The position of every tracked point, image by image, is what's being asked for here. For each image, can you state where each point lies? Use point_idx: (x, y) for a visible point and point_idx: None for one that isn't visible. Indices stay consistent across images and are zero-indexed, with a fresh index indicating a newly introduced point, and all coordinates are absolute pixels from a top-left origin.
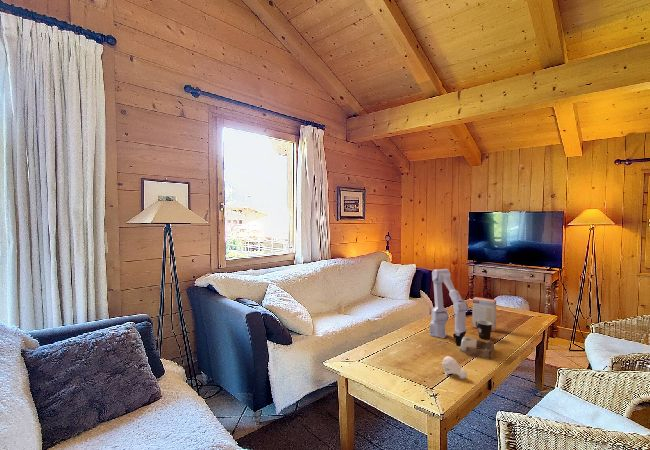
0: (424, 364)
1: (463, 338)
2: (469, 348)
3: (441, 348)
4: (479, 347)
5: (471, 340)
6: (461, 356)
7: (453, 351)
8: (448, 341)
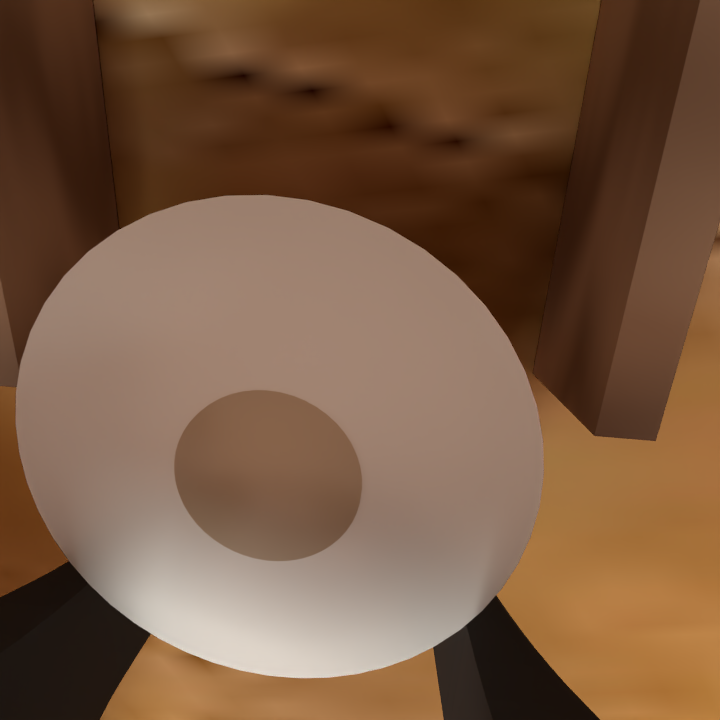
0: None
1: (263, 601)
2: (669, 362)
3: None
4: (106, 174)
5: (301, 377)
6: (710, 444)
7: (526, 567)
8: (159, 645)
